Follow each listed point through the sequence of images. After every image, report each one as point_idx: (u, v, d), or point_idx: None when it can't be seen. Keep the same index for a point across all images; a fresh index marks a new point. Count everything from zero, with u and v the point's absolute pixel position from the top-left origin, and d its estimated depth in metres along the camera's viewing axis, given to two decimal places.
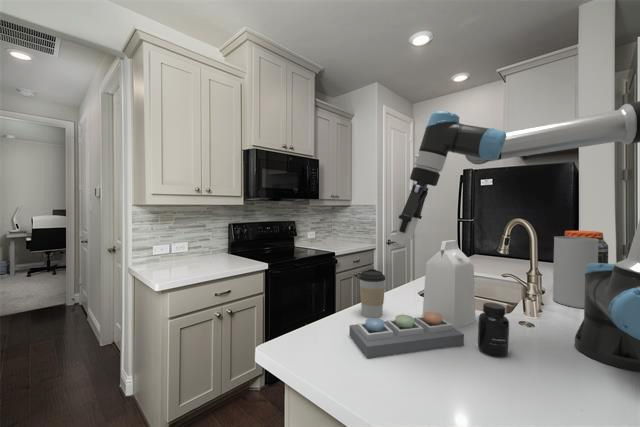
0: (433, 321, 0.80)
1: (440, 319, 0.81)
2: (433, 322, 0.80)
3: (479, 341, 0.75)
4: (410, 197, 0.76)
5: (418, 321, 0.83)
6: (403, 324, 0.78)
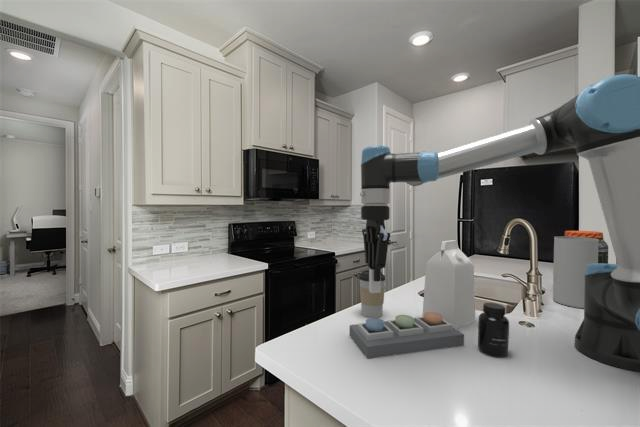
0: (433, 321, 0.80)
1: (440, 319, 0.81)
2: (433, 322, 0.80)
3: (479, 341, 0.75)
4: (380, 247, 0.73)
5: (418, 321, 0.83)
6: (403, 324, 0.78)
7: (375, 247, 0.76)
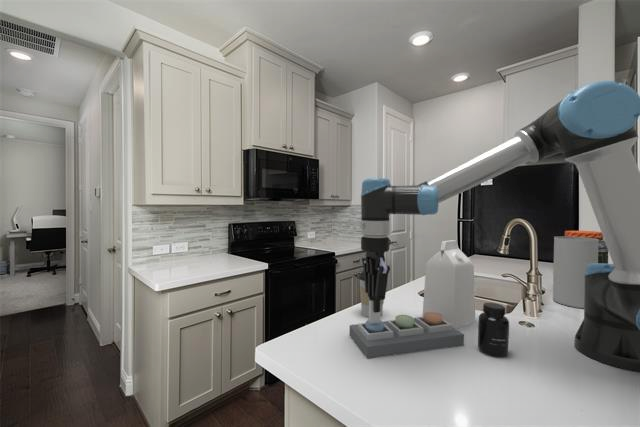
0: (433, 321, 0.80)
1: (440, 319, 0.81)
2: (433, 322, 0.80)
3: (479, 341, 0.75)
4: (380, 280, 0.73)
5: (418, 321, 0.83)
6: (403, 324, 0.78)
7: (375, 278, 0.76)
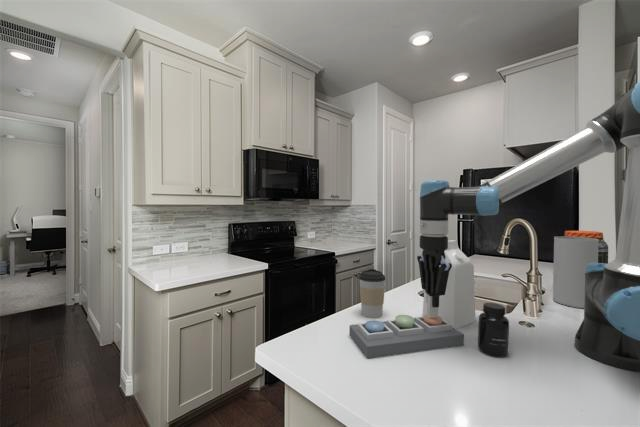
0: (433, 323, 0.80)
1: (440, 322, 0.81)
2: (433, 325, 0.80)
3: (479, 341, 0.75)
4: (442, 277, 0.77)
5: (418, 321, 0.83)
6: (403, 324, 0.78)
7: (434, 275, 0.80)
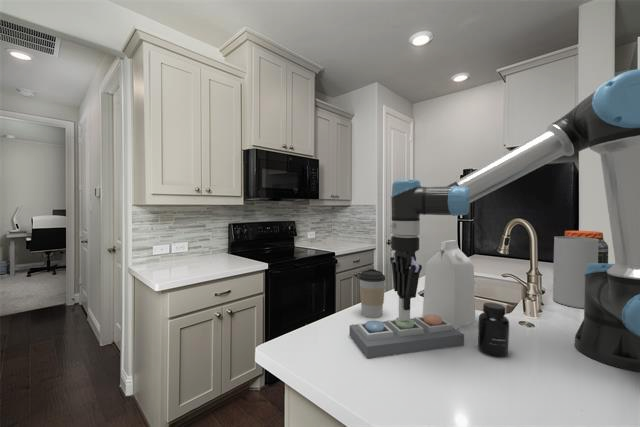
0: (433, 323, 0.80)
1: (440, 322, 0.81)
2: (433, 325, 0.80)
3: (479, 341, 0.75)
4: (412, 279, 0.75)
5: (418, 321, 0.83)
6: (403, 326, 0.78)
7: (405, 277, 0.78)
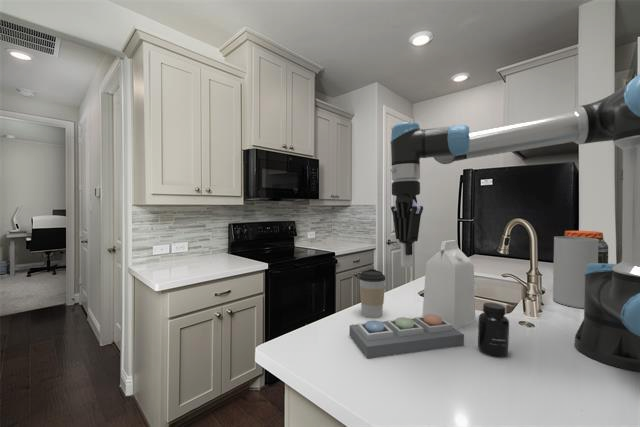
0: (433, 323, 0.80)
1: (440, 322, 0.81)
2: (433, 325, 0.80)
3: (479, 341, 0.75)
4: (413, 221, 0.75)
5: (418, 321, 0.83)
6: (403, 326, 0.78)
7: (407, 221, 0.78)
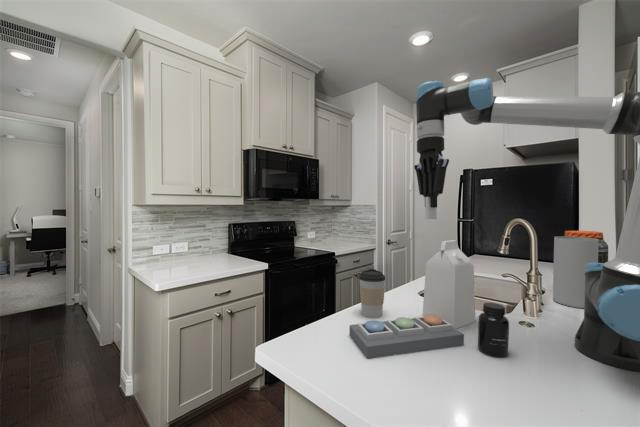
0: (433, 323, 0.80)
1: (440, 322, 0.81)
2: (433, 325, 0.80)
3: (479, 341, 0.75)
4: (439, 173, 0.79)
5: (418, 321, 0.83)
6: (403, 326, 0.78)
7: (432, 175, 0.82)
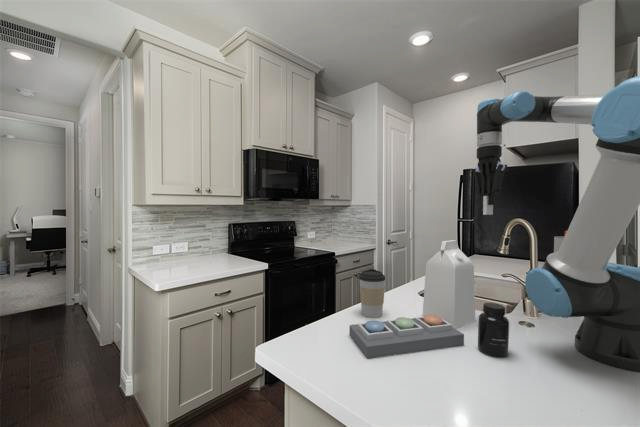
0: (433, 323, 0.80)
1: (440, 322, 0.81)
2: (433, 325, 0.80)
3: (479, 341, 0.75)
4: (498, 176, 0.95)
5: (418, 321, 0.83)
6: (403, 326, 0.78)
7: (491, 178, 0.98)
